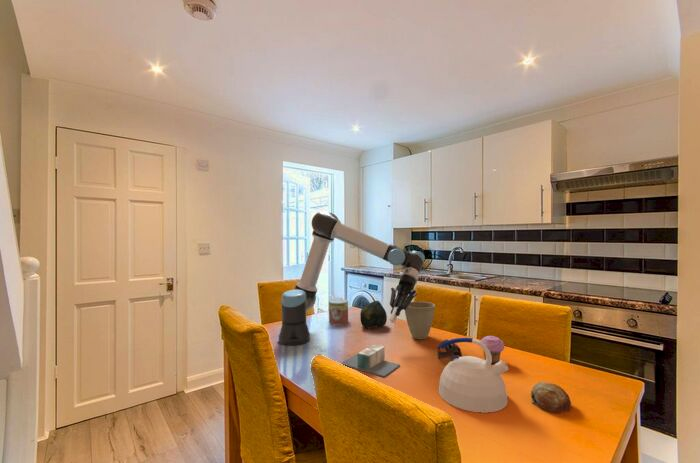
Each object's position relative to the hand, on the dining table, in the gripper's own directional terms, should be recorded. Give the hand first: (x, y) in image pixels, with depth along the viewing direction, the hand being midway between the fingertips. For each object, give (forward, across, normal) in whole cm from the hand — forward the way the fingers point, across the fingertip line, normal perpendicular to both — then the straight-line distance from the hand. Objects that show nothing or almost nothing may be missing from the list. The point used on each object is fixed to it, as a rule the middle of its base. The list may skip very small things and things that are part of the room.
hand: (391, 321), depth 141 cm
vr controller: (+5, +24, +13) cm, 27 cm away
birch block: (+15, +1, -2) cm, 15 cm away
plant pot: (-7, +3, +25) cm, 26 cm away
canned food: (-6, -47, +24) cm, 54 cm away
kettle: (+23, +40, -5) cm, 46 cm away
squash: (-8, -25, +27) cm, 38 cm away
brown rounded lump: (+17, +60, 0) cm, 63 cm away
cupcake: (+1, +39, +17) cm, 42 cm away
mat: (+23, +1, -5) cm, 23 cm away
